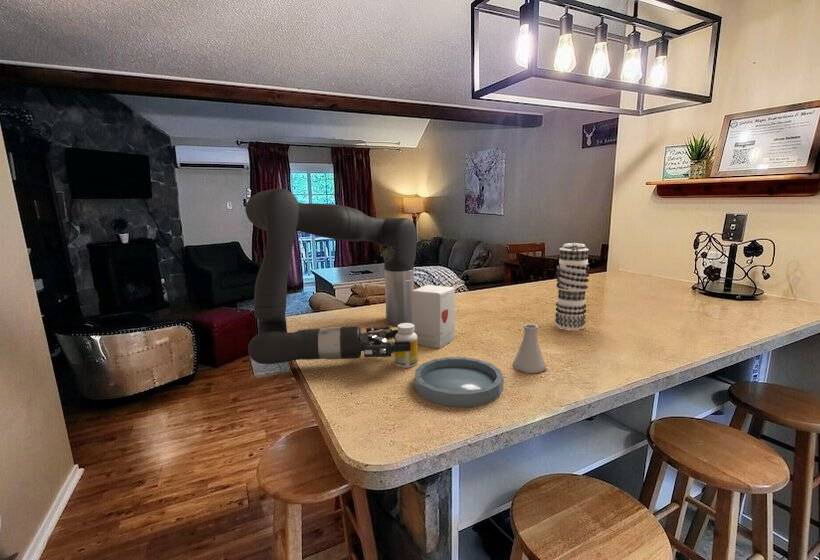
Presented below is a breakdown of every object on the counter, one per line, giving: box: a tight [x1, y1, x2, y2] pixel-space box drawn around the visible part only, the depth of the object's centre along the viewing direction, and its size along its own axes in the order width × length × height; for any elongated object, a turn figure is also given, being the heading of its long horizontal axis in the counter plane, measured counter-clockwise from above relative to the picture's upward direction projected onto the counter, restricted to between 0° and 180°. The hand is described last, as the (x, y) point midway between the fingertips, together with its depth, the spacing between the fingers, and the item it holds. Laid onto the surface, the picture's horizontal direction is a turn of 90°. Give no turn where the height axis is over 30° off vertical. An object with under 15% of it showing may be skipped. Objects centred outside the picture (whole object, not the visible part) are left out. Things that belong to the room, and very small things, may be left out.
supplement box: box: [412, 284, 456, 350], centre depth 109 cm, size 9×9×15 cm
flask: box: [512, 323, 547, 374], centre depth 91 cm, size 7×7×10 cm
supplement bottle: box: [394, 323, 419, 369], centre depth 94 cm, size 5×5×10 cm
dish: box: [414, 356, 504, 408], centre depth 83 cm, size 18×18×3 cm
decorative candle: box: [554, 242, 591, 331], centre depth 118 cm, size 9×9×25 cm
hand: (409, 339), depth 94 cm, fingers open, 8 cm apart
